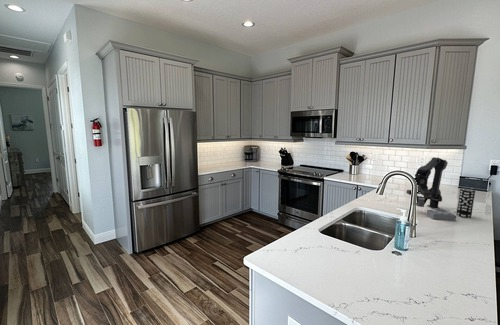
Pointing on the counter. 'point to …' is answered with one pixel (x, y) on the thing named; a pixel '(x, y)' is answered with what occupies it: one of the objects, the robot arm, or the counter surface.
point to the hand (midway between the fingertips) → (420, 203)
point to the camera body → (441, 214)
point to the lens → (420, 201)
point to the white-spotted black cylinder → (465, 203)
